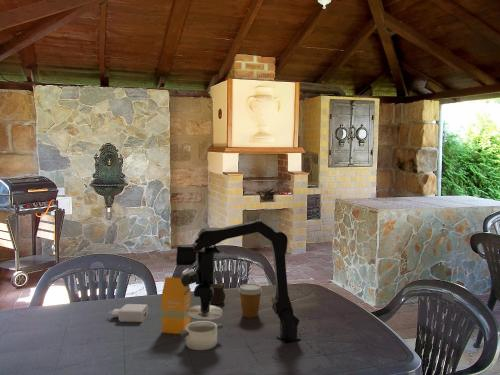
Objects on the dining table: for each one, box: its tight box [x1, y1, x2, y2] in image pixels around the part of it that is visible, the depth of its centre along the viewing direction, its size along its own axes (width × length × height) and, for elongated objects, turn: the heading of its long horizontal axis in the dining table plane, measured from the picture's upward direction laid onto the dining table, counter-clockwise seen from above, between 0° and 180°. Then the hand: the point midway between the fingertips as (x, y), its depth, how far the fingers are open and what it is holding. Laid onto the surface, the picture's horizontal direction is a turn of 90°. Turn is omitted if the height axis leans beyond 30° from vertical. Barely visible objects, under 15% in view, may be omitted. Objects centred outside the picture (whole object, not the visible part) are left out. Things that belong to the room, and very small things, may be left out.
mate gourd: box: [210, 281, 227, 305], centre depth 202 cm, size 7×8×10 cm
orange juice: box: [161, 276, 192, 335], centre depth 172 cm, size 8×9×20 cm
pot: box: [178, 320, 224, 351], centre depth 160 cm, size 11×16×6 cm
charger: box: [107, 303, 149, 323], centre depth 184 cm, size 5×9×15 cm
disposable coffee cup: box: [238, 283, 263, 318], centre depth 188 cm, size 10×10×12 cm
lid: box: [187, 302, 224, 321], centre depth 159 cm, size 12×12×6 cm
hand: (205, 308), depth 159 cm, fingers closed on lid, 3 cm apart
